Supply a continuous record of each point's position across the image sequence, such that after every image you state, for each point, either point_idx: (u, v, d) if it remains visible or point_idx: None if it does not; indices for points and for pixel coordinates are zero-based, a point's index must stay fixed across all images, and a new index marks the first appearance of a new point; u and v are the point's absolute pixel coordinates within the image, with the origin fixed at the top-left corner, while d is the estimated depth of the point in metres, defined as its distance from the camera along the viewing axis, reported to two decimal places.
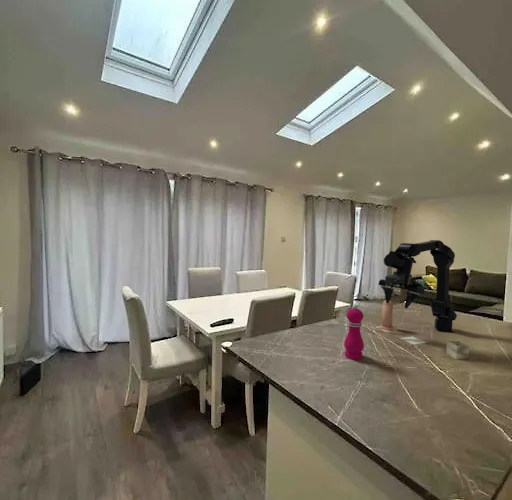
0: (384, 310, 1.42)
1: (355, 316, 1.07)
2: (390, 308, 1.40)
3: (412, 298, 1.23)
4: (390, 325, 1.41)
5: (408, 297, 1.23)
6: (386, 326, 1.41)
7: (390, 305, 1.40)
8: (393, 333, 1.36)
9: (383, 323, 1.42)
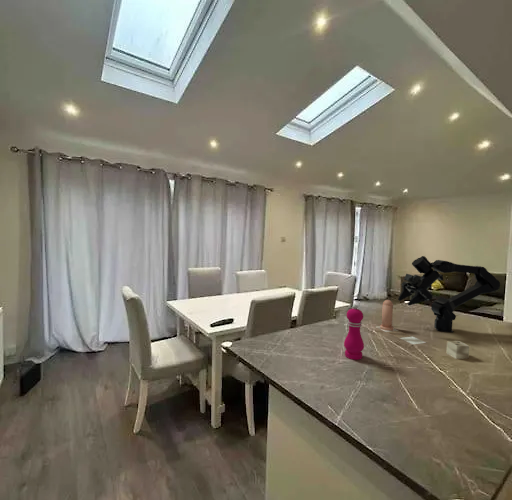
0: (384, 310, 1.41)
1: (355, 316, 1.07)
2: (390, 308, 1.40)
3: (418, 299, 1.36)
4: (390, 325, 1.41)
5: (414, 296, 1.36)
6: (386, 326, 1.41)
7: (390, 305, 1.40)
8: (393, 333, 1.36)
9: (383, 323, 1.42)
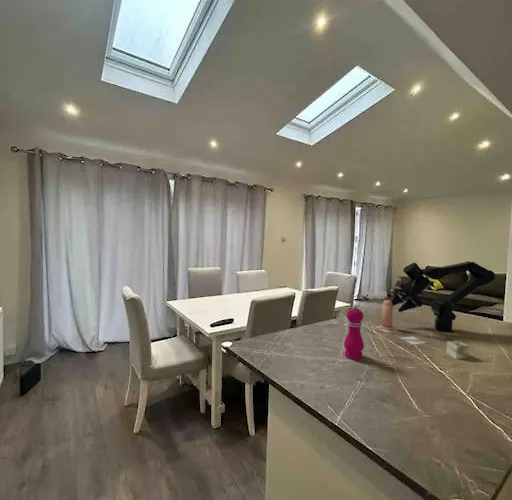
0: (384, 310, 1.42)
1: (355, 316, 1.07)
2: (390, 308, 1.40)
3: (409, 306, 1.37)
4: (390, 325, 1.41)
5: (405, 302, 1.37)
6: (386, 326, 1.41)
7: (390, 305, 1.40)
8: (393, 333, 1.36)
9: (383, 323, 1.42)
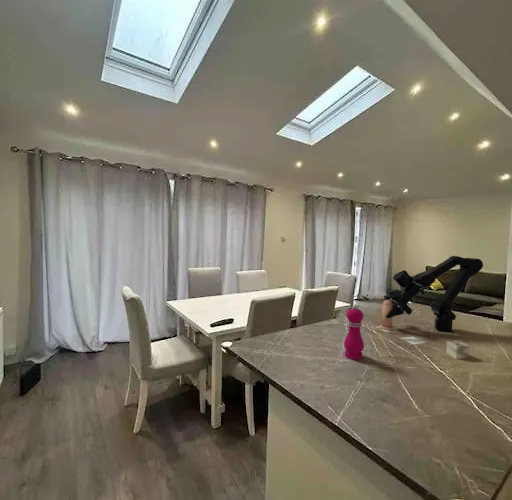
0: (384, 310, 1.42)
1: (355, 316, 1.07)
2: (390, 308, 1.40)
3: (396, 313, 1.39)
4: (390, 325, 1.41)
5: (392, 309, 1.39)
6: (386, 326, 1.41)
7: (390, 305, 1.40)
8: (393, 333, 1.36)
9: (383, 323, 1.42)
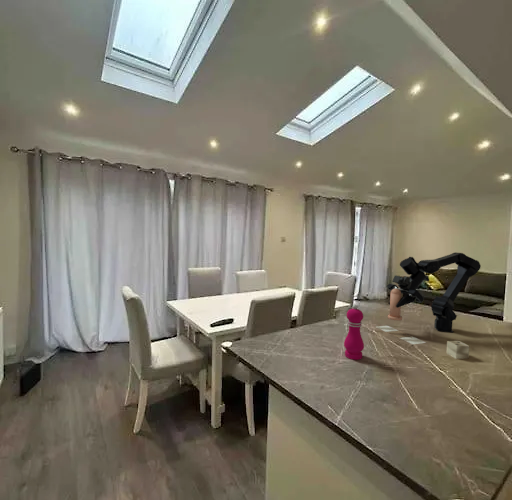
0: (393, 299, 1.34)
1: (355, 316, 1.07)
2: (399, 297, 1.34)
3: (406, 301, 1.33)
4: (399, 315, 1.35)
5: (403, 297, 1.33)
6: (395, 316, 1.34)
7: (399, 294, 1.34)
8: (393, 333, 1.36)
9: (392, 313, 1.35)
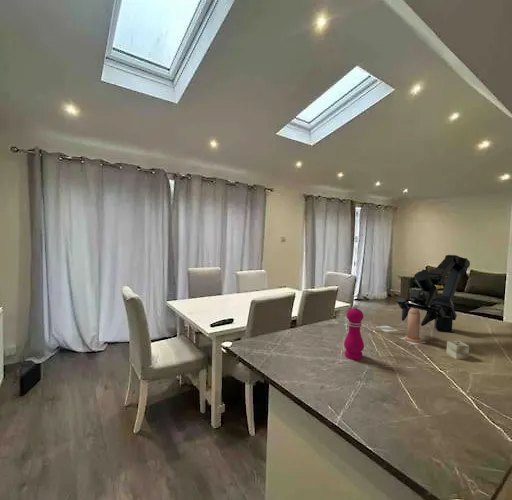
0: (413, 320, 1.25)
1: (355, 316, 1.07)
2: (419, 317, 1.26)
3: (430, 318, 1.24)
4: (418, 336, 1.26)
5: (427, 315, 1.23)
6: (416, 338, 1.26)
7: (419, 314, 1.26)
8: (393, 333, 1.36)
9: (412, 335, 1.26)
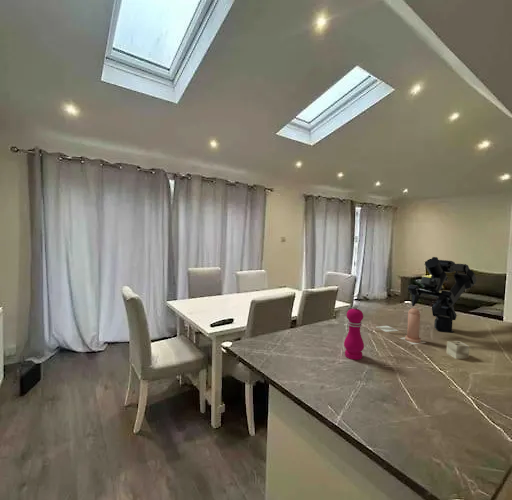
0: (413, 320, 1.25)
1: (355, 316, 1.07)
2: (419, 317, 1.26)
3: (441, 304, 1.29)
4: (418, 336, 1.26)
5: (439, 300, 1.28)
6: (416, 338, 1.26)
7: (419, 314, 1.26)
8: (393, 333, 1.36)
9: (412, 335, 1.26)
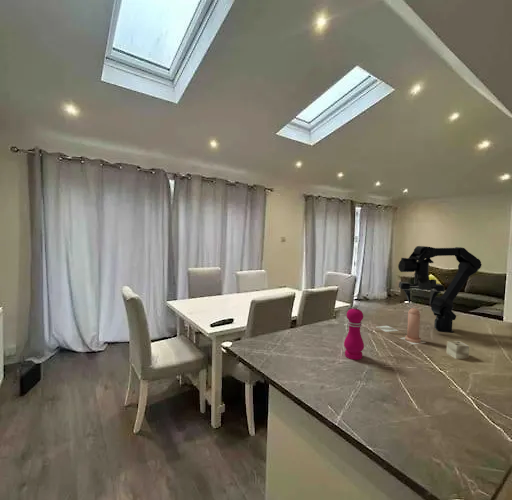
0: (413, 320, 1.25)
1: (355, 316, 1.07)
2: (419, 317, 1.26)
3: None
4: (418, 336, 1.26)
5: (434, 295, 1.39)
6: (416, 338, 1.26)
7: (419, 314, 1.26)
8: (393, 333, 1.36)
9: (412, 335, 1.26)
